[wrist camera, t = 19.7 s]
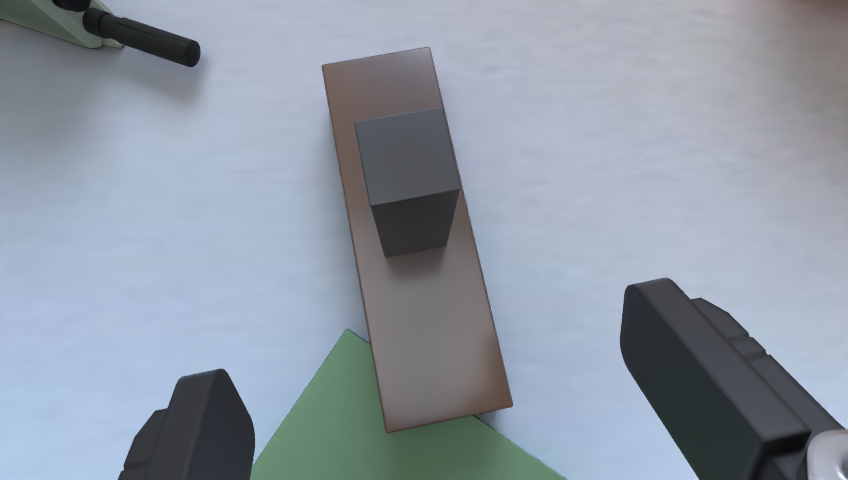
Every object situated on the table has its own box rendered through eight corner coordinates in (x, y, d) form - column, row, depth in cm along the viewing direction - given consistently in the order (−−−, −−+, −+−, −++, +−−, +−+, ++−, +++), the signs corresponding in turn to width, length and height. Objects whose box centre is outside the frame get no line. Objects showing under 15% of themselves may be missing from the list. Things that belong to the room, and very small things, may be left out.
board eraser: (389, 424, 22) (368, 476, 12) (331, 97, 25) (279, -65, 16) (501, 400, 22) (567, 432, 12) (428, 81, 26) (435, -89, 16)
